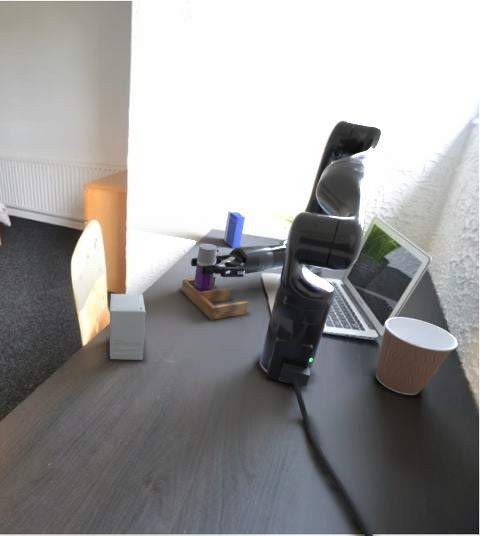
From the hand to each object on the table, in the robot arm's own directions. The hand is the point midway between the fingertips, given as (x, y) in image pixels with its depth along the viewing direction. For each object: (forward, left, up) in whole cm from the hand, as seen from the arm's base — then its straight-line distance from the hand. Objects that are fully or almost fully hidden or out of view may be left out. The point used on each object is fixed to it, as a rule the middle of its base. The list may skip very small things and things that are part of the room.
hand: (196, 266), depth 101 cm
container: (+2, -2, -10) cm, 10 cm away
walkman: (+46, -5, -10) cm, 47 cm away
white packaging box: (-30, +9, -10) cm, 33 cm away
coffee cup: (-17, -43, -10) cm, 47 cm away
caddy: (0, -5, -10) cm, 11 cm away
